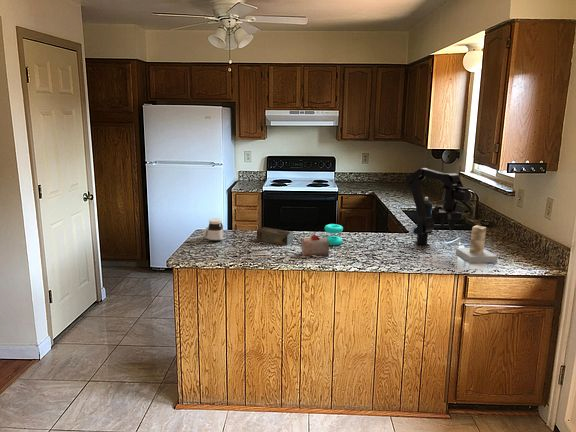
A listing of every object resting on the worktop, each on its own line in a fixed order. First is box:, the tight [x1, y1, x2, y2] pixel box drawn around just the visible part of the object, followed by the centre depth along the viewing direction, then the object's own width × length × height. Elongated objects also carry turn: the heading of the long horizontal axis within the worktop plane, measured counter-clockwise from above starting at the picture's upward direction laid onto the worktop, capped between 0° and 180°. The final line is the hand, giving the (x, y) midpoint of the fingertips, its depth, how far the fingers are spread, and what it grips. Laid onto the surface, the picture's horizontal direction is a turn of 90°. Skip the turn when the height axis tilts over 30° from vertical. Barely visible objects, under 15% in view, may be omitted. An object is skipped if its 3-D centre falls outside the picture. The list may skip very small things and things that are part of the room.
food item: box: [300, 234, 330, 257], centre depth 231 cm, size 14×8×10 cm, turn 96°
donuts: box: [324, 223, 344, 246], centre depth 250 cm, size 10×10×10 cm
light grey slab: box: [455, 247, 498, 264], centre depth 231 cm, size 14×14×3 cm
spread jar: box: [202, 218, 224, 243], centre depth 252 cm, size 12×11×12 cm
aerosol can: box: [416, 196, 434, 227], centre depth 280 cm, size 8×8×20 cm
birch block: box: [469, 224, 487, 254], centre depth 229 cm, size 5×5×13 cm
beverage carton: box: [256, 226, 294, 246], centre depth 252 cm, size 8×19×7 cm, turn 66°
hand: (446, 228), depth 236 cm, fingers open, 9 cm apart
